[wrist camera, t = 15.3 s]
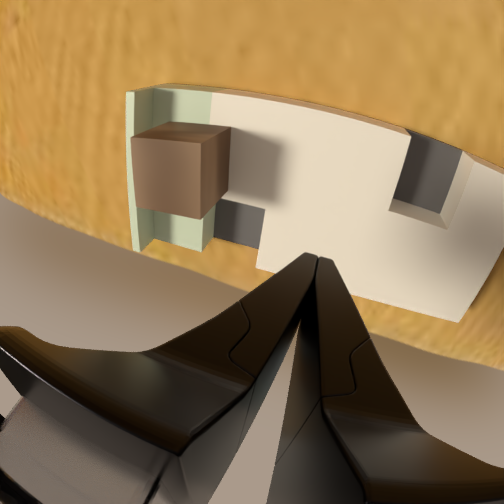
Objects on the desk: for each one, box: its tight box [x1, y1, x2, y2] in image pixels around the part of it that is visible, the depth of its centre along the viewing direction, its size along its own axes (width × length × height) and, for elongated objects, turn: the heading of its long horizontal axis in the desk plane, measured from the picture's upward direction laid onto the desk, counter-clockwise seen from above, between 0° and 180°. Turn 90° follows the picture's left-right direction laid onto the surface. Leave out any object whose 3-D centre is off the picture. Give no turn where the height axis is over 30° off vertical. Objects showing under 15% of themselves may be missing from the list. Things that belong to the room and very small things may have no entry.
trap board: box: [126, 83, 504, 323], centre depth 18 cm, size 24×11×4 cm, turn 83°
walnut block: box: [130, 121, 231, 220], centre depth 17 cm, size 4×4×4 cm
